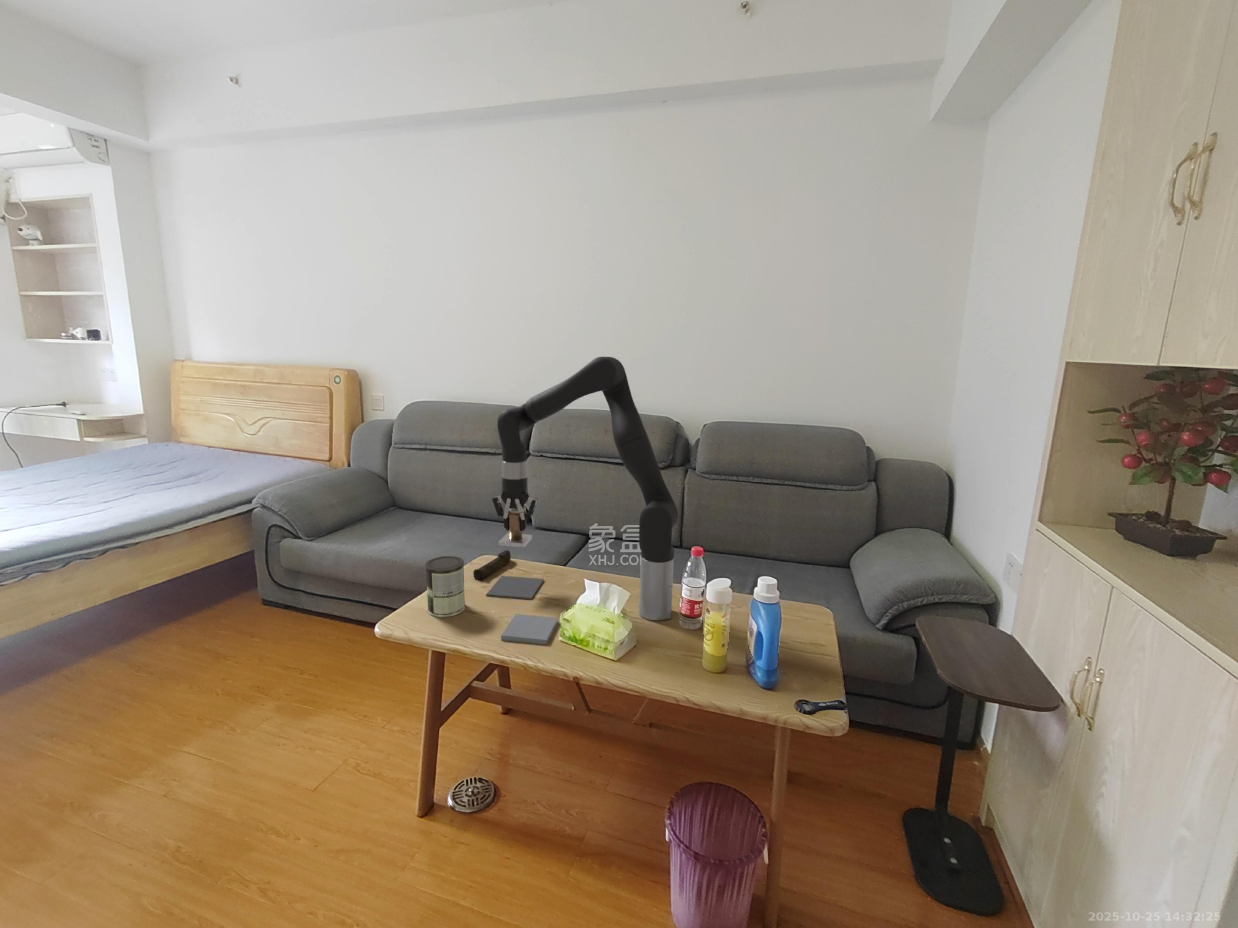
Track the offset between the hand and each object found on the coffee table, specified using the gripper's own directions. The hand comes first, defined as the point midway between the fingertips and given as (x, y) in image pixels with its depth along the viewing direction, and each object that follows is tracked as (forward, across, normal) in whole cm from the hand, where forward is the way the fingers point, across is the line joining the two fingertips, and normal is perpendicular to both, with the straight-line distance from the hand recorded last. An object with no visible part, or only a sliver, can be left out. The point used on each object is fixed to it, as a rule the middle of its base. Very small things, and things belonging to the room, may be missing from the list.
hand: (515, 529), depth 169 cm
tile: (+18, -12, +19) cm, 29 cm away
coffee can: (+19, +15, +17) cm, 30 cm away
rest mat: (+19, 0, 0) cm, 19 cm away
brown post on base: (+4, 0, 0) cm, 4 cm away
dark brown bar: (+20, +12, -13) cm, 26 cm away
